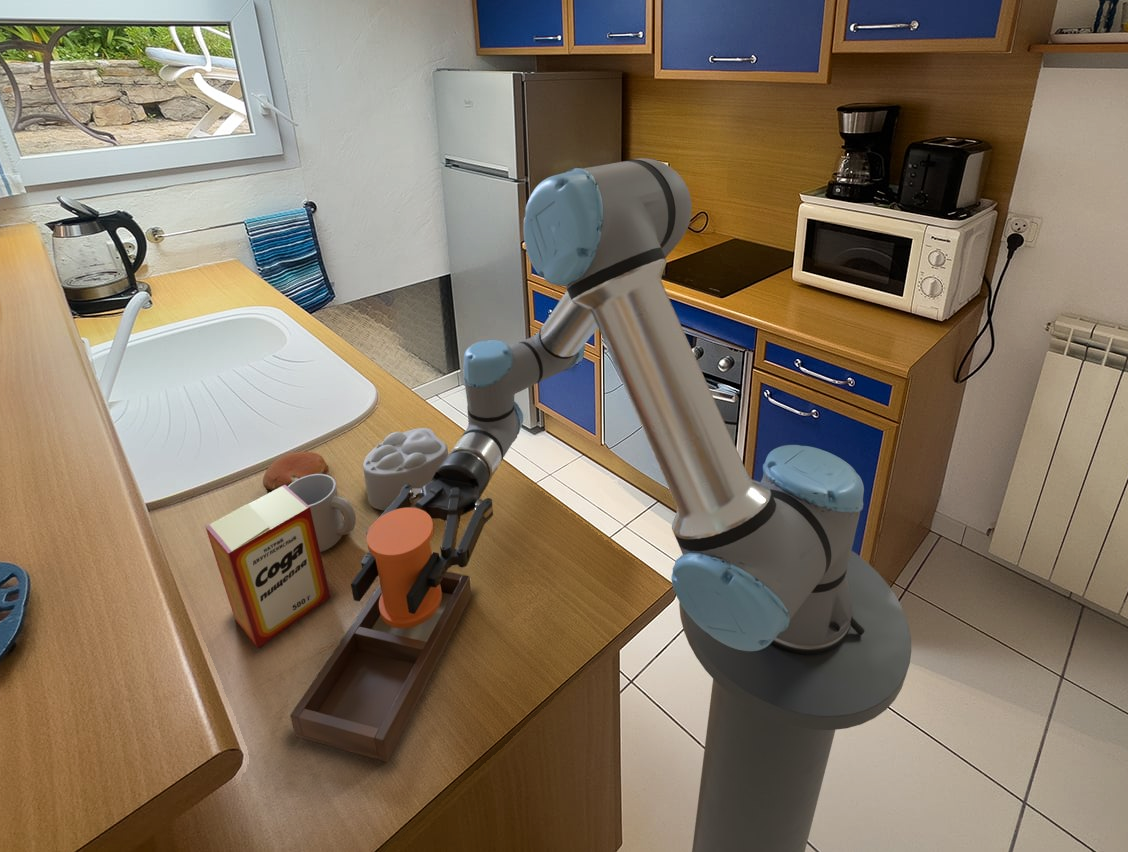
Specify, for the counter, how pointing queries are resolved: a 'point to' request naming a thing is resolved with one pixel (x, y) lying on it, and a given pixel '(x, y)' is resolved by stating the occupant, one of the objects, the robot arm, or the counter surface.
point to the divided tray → (377, 676)
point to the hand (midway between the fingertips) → (382, 598)
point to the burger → (293, 469)
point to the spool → (402, 564)
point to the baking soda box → (269, 563)
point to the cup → (325, 508)
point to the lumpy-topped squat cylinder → (402, 464)
